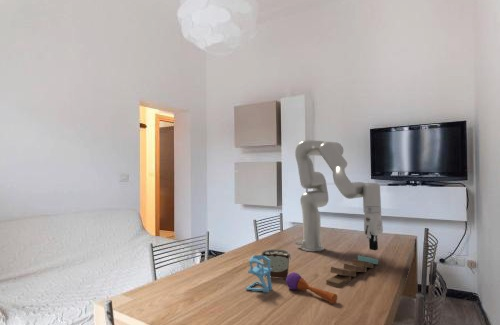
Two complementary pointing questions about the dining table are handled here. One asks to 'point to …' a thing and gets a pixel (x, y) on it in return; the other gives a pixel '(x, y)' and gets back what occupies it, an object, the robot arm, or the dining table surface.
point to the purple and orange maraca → (308, 287)
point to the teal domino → (367, 259)
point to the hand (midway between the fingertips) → (373, 249)
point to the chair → (260, 273)
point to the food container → (277, 262)
